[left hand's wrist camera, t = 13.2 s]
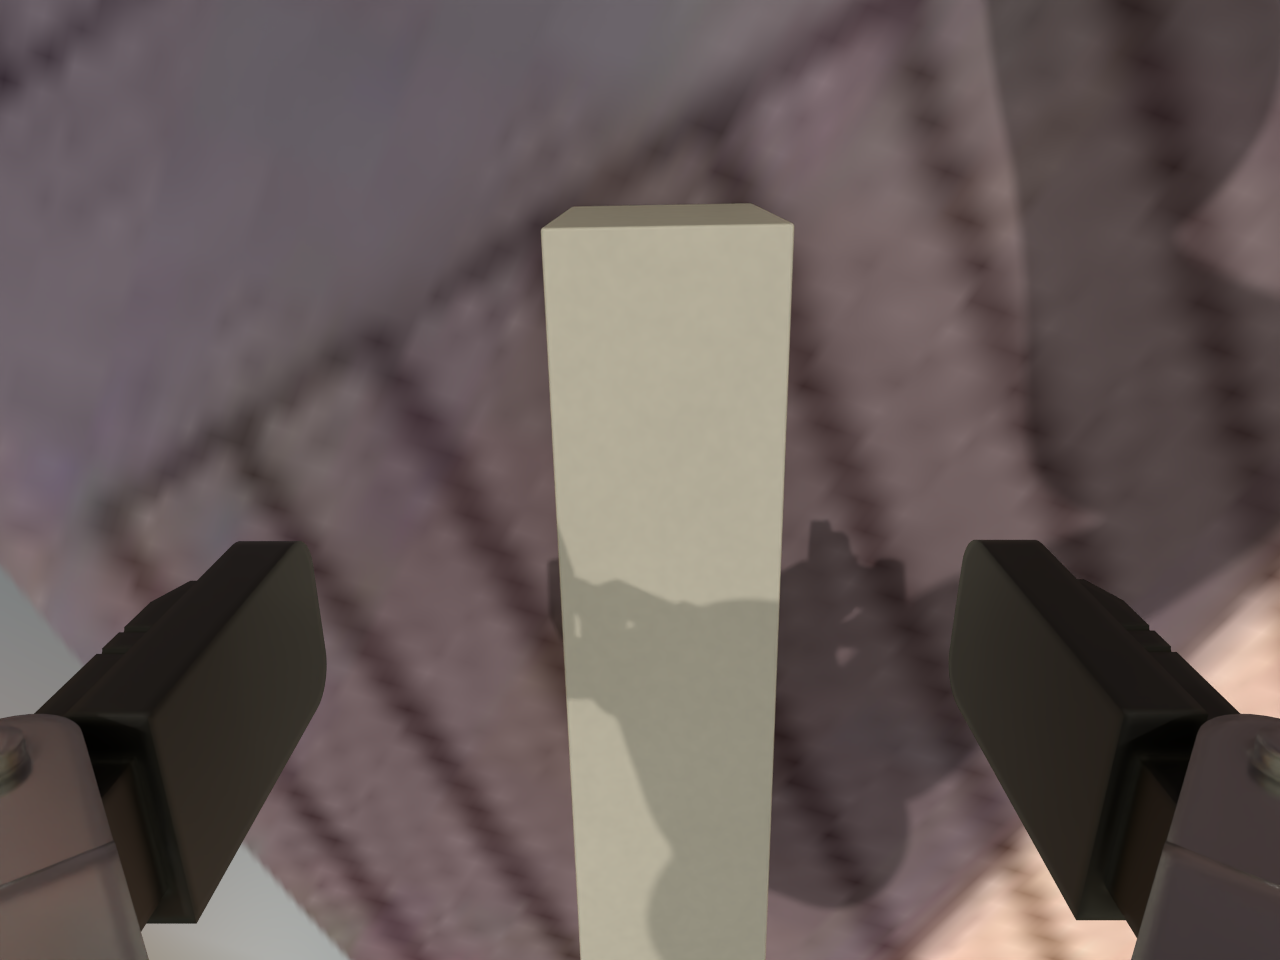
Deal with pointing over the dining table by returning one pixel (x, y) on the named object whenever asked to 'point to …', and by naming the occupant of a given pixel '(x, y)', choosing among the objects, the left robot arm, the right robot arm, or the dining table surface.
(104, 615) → the dining table surface
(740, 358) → the box
